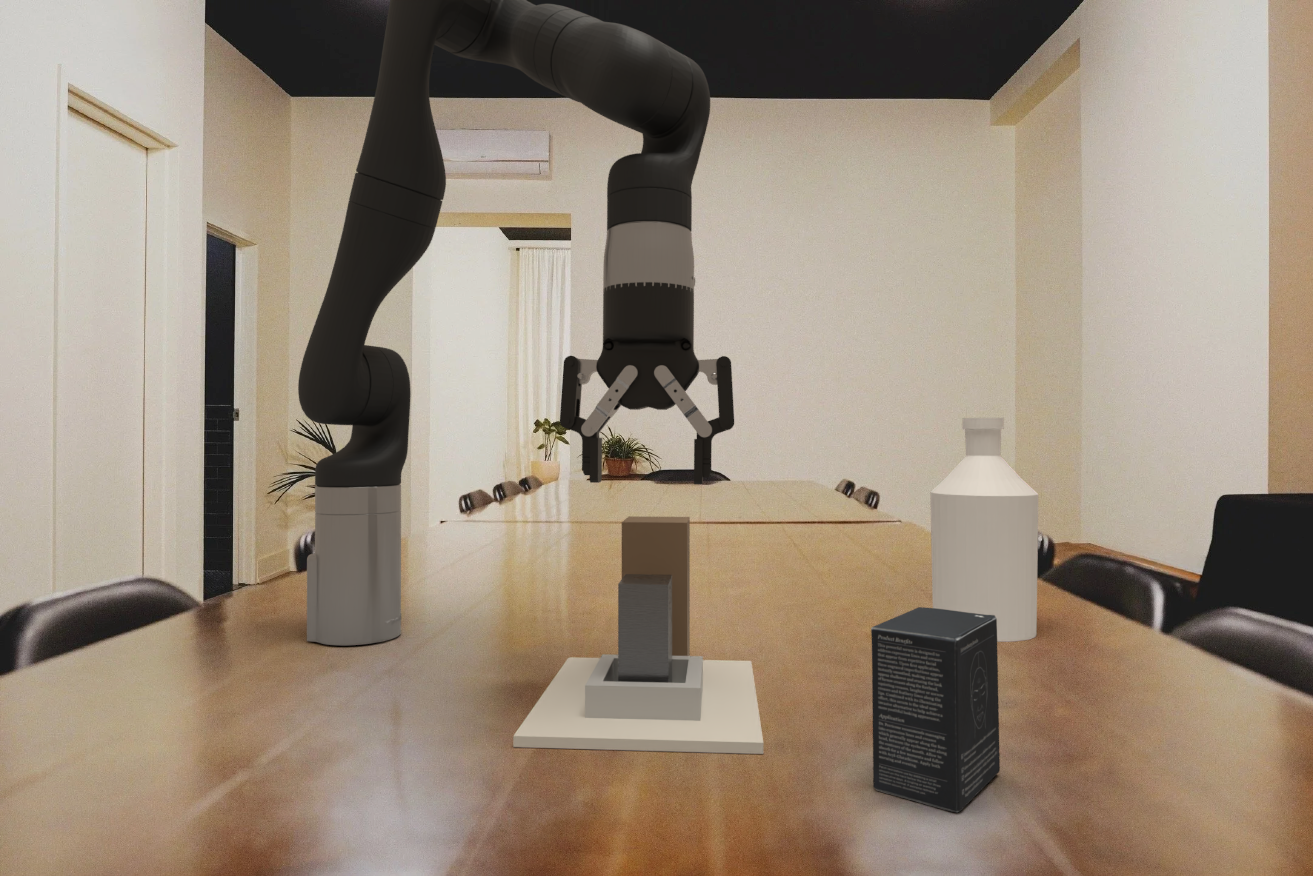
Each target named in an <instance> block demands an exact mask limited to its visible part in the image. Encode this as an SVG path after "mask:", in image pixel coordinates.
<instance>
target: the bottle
mask: <svg viewBox="0 0 1313 876" xmlns="http://www.w3.org/2000/svg"><path fill="white" fill-rule="evenodd" d="M1004 421H1005V418H1004V417H963V418H962V424H961V425H962V430H964V433H965V434H964V437H965V440H964V441H965V442H964V443H965V456H964V457H962V459H961V460H960V462H958V464H956V466H955V467H954V468H953V469H952V470H951V471H950V472H949V473H948V475H946V477H945V478H944V479H943V480H941V481H940V482H939V483H938V484H937V485H936V486H935V487H934V488H933V489H932V490H931V491H929V492H930V494H929V495H930V501H929V502H930V537H931V541H930V542H931V543H930V544H931V545H930V546H931V550H930V551H931V578H932V579H931V583H932V585H931V587H932V588H931V591H932V592H931V593H932V594H931V595H932V608H936V609H945V610H952V611H960V612H967V613H976V614H984V615H995V617H996V618H997V643H998V642H999V643H1001V642H1007V643H1010V642H1022V641H1028V640H1031V639H1034V638H1036V637H1037V620H1038V619H1037V618H1038V617H1037V616H1038V615H1037V614H1038V560H1039V559H1038V555H1039V554H1038V550H1039V547H1038V544H1039V493H1038V492H1037V491H1035V489H1034V488H1033V487H1032V486H1030V485H1029V484H1028V483H1027V482H1026V481H1025V480H1024V479H1022V477H1020V475H1019V474H1018V473H1017V472H1016V471H1015V469H1014V468H1012V467H1011V466H1010V464H1009V463H1008V462H1007V461H1006V460H1005V459H1004V458H1003V457H1002V456H1001V453H1002V452H1001V451H1002V441H1001V440H1002V430H1004V428H1005V426H1004V425H1005V424H1004V423H1005V422H1004Z"/></svg>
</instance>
